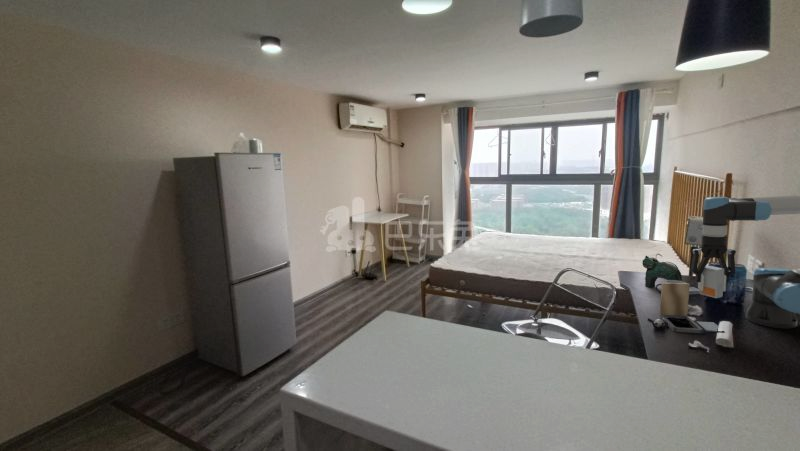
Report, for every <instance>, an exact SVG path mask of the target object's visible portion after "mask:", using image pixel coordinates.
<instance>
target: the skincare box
mask: <svg viewBox="0 0 800 451" xmlns="http://www.w3.org/2000/svg"><path fill="white" fill-rule="evenodd" d="M702 275H704V284H703V291H701V290H699V294H700V295H702V296H706V297H710V298H714V299H718V298H719V299H720V298H723V296H724V295H723V293H724V291H723V281H724V269H723V268H721V267H718V266H712V265H706V266H705V268H704V270H703V272H702Z"/></svg>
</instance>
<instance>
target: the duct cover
mask: <svg viewBox="0 0 800 451" xmlns="http://www.w3.org/2000/svg"><path fill="white" fill-rule="evenodd" d="M661 284H662V285H661V290H660V291H661V293H660V304H659V305H660V307H659V314H660V315H661V314H662V315H681V316H688V311H689V297H690V283H687V282H685V283H665V282H661Z"/></svg>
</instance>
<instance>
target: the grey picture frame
mask: <svg viewBox="0 0 800 451" xmlns="http://www.w3.org/2000/svg"><path fill="white" fill-rule="evenodd" d="M661 317H662V318H664V319H665V320H666V322H667V323H668V325H667V326H668V327H669V328H670V329H671V331H673V333H674V332H675V333H676V332H677V333H692V334H704V331H705V330H704V329H703V328H702V327H701V326H700V325H699V324H697V323H696V321H694V320H693V319H692V318H690V317H689V316H688V315H687V316H683V315H664V314H660V318H661ZM666 317H683V318H686V319H687V320H688V321H689V323H688V324H690V326H692V327H677V326H676V325H674V324H673V323H672V321H670V319H667V318H666Z"/></svg>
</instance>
